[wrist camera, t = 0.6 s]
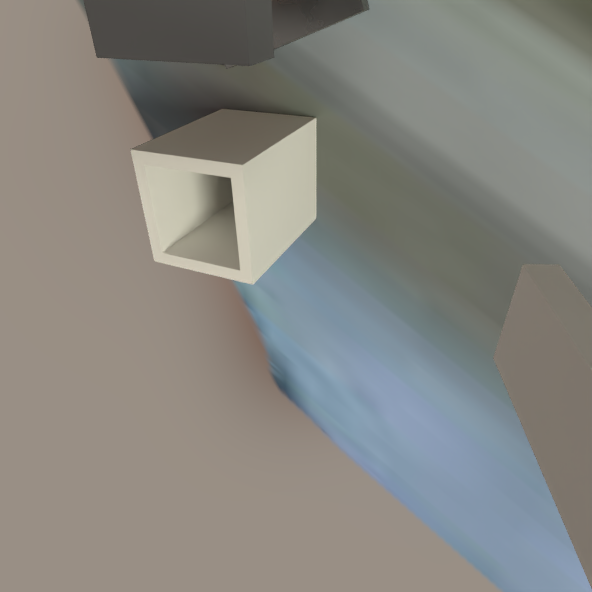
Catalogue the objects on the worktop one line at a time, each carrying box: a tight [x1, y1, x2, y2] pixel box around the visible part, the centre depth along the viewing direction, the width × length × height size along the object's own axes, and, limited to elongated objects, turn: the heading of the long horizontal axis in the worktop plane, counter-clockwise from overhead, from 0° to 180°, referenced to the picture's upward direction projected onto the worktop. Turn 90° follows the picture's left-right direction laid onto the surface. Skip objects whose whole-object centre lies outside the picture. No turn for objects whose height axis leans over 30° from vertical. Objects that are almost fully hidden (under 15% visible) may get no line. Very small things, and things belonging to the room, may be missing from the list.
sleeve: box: [130, 109, 316, 284], centre depth 32 cm, size 7×7×10 cm
